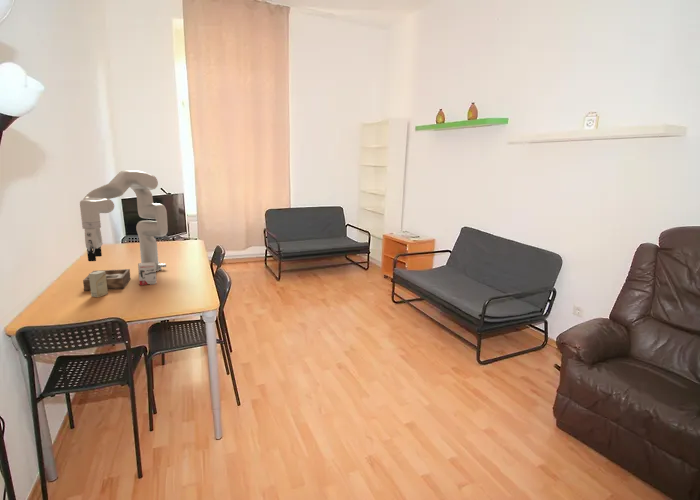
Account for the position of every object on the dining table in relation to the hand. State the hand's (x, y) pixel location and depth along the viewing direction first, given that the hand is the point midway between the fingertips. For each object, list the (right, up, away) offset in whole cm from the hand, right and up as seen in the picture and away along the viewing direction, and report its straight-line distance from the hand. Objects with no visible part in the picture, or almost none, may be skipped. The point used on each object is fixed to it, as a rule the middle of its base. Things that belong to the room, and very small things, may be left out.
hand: (95, 258), depth 189 cm
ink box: (+13, -15, +25) cm, 32 cm away
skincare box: (-1, -19, +5) cm, 20 cm away
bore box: (-6, -15, +20) cm, 26 cm away
